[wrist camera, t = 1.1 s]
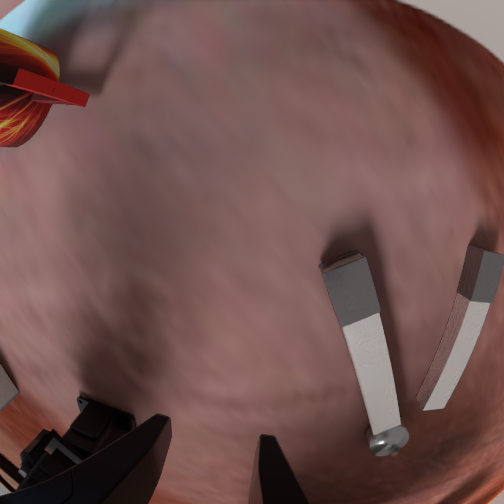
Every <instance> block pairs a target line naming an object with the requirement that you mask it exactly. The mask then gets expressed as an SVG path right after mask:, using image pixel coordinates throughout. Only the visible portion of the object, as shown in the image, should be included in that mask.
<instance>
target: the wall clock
mask: <svg viewBox="0 0 504 504" xmlns="http://www.w3.org/2000/svg"><path fill="white" fill-rule="evenodd" d="M18 471H19V470H18V469H17V468H16V467H15V466H14V465H12V464H11V463H10V462H9V461H8V460H6V459H5V458H4V457H3V456H1V455H0V482H1V483H2V484H3V485H4V486H5V487H6V488H7V489H8V490H9V491H10V492H11V493H12V492H15V491H16V489H17V488H18V486H19V485H20V484H21V482H22V481H23V480H24V477H23V476H22V475H21V474H20V473H19V472H18Z"/></svg>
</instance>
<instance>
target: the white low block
mask: <svg viewBox="0 0 504 504" xmlns="http://www.w3.org/2000/svg"><path fill="white" fill-rule="evenodd" d="M19 393H20V392H19V391H18V390H17V388H16V387H15V385H14V384H13V383H12V381H11V380H10V378H9V377H8V375H7V374H6V372H5V371H4V369H3V368H2V366H1V364H0V411H1V410H2V409H3V408H4V407H5V406H6V405H7V404H8V403H9V402H10V401H12V400H13V399H14V398H15V397H16V396H17V395H18V394H19Z"/></svg>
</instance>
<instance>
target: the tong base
mask: <svg viewBox="0 0 504 504" xmlns="http://www.w3.org/2000/svg"><path fill="white" fill-rule="evenodd" d="M503 265H504V255H502V254H500V253H497V252H494V251H492V250H489V249H484V248H480V247H476V246H472V245H468V249H467V254H466V258H465V263H464V267H463V271H462V275H461V279H460V282H459V286H458V289H457V292H458V293H457V296H456V299H455V303H454V306H453V309H452V312H451V315H450V318H449V321H448V324H447V326H446V329H445V332H444V335H443V337H442V340H441V342H440V345H439V348H438V350H437V352H436V355H435V357H434V360H433V362H432V364H431V367H430V369H429V371H428V373H427V375H426V378H425V380H424V382H423V384H422V386H421V388H420V390H419V392H418V394H417V396H416V400H417V402H418V403H419V405H420V407H421V409H422V411H424V410H434V409H442V408H444V407H445V405H446V403H447V402H448V400H449V398H450V396H451V394H452V392H453V391H454V389H455V387H456V385H457V383H458V381H459V379H460V377H461V375H462V373H463V371H464V369H465V366H466V364H467V362H468V360H469V358H470V355H471V353H472V351H473V348H474V346H475V344H476V341H477V339H478V336H479V334H480V331H481V328H482V326H483V323H484V320H485V317H486V315H487V312H488V309H489V306H490V303H493V301H494V298H495V295H496V291H497V288H498V284H499V281H500V277H501V273H502V269H503Z"/></svg>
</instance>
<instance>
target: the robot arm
mask: <svg viewBox="0 0 504 504" xmlns="http://www.w3.org/2000/svg"><path fill="white" fill-rule="evenodd" d="M77 402H78V406H79V409H80V414H79V415H78V416H77V417H76V419H75V420H74V421H73V422H72V424H71V425H70V428H69V429H68V430H67V432H66V433H65V434H64V436H63V437H61V436H60V435H59V434H58V432H57V431H55V430H54V429H52V430H51V432H50V431H47V430H45V429H43V430H42V431H41V432H40V434H39V435H38V436H37V437H36V438H35V439H34V440H33V441H32V442H31V443H30V444H29V445H28V446H27V447H26V448H25V449H24V450H23V451H22V452H21V454H20V458H21V464H20V466H21V468H20V469H19V471H18V472H19V473H20V474H21V475H22V476H23V477H24V480H23V481H22V482H21V484H20V485H19V486H18V488H17V489H16V491H15V492H12V493H9V494H5V495H2V496H0V504H148V503H149V501H150V499H151V497H152V495H153V492H154V490H155V488H156V486H157V484H158V481H159V479H160V476H161V473H162V469H163V466H164V462H165V459H166V456H167V452H168V449H169V445H170V442H171V438H172V427H171V418H170V417H169V416H165V415H162V414H155V415H154V416H152V417H151V418H149V419H148V420H146V421H145V422H143V423H142V424H141V425H139V426H138V427H136V428H135V423H134V418H133V417H132V416H131V415H129V414H127V413H124V412H121V411H118V410H115V409H113V408H110V407H107V406H105V405H102V404H99V403H97V402H94V401H92V400H90V399H87V398H85V397H82V396H79V397H78V398H77ZM45 448H46V449H47V450H48V451H49V452H50V453H51V455H50V454H49V453H48V452H47V451H46V450H45ZM249 504H310V502H309V500H308V498H307V496H306V495H305V493H304V491H303V489H302V487H301V485H300V484H299V482H298V480H297V478H296V476H295V474H294V472H293V470H292V469H291V467H290V465H289V463H288V461H287V459H286V457H285V455H284V453H283V451H282V449H281V447H280V445H279V443H278V441H277V439H276V437H275V436H273V435H266V434H261V435H260V437H259V441H258V445H257V449H256V453H255V460H254V467H253V474H252V480H251V487H250V495H249Z"/></svg>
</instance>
